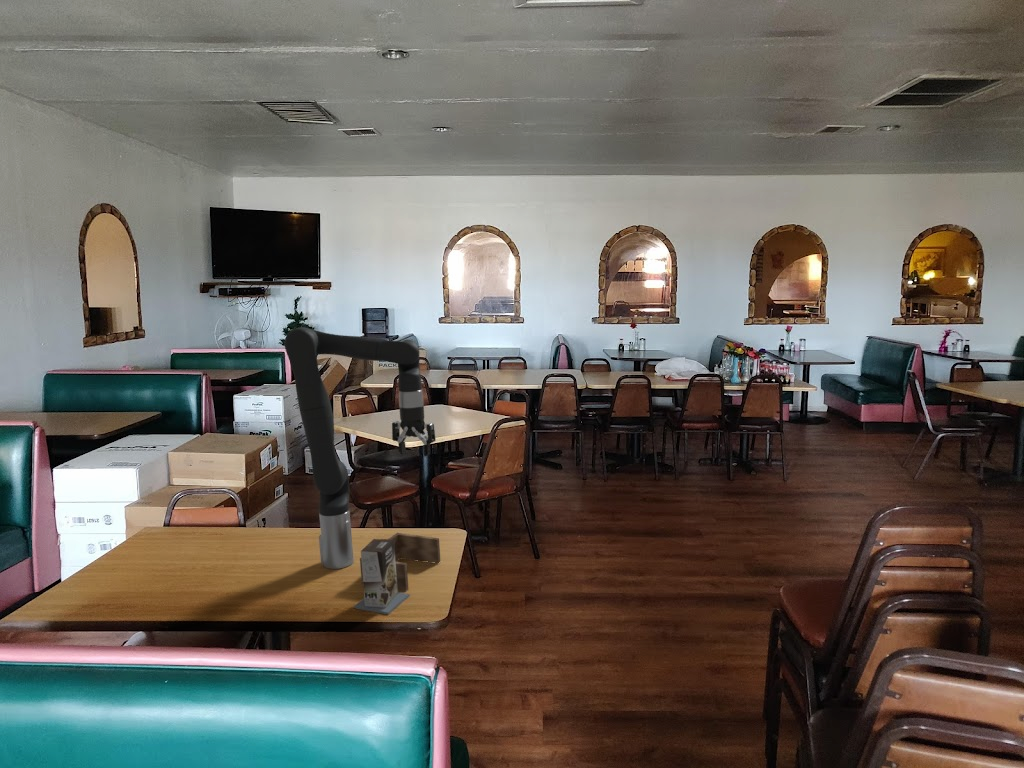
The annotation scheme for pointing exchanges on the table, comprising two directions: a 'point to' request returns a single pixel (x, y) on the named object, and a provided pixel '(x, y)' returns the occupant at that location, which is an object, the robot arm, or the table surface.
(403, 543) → the cubby
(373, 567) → the coffee box
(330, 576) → the table surface
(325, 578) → the table surface
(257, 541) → the table surface
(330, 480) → the robot arm
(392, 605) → the mat
